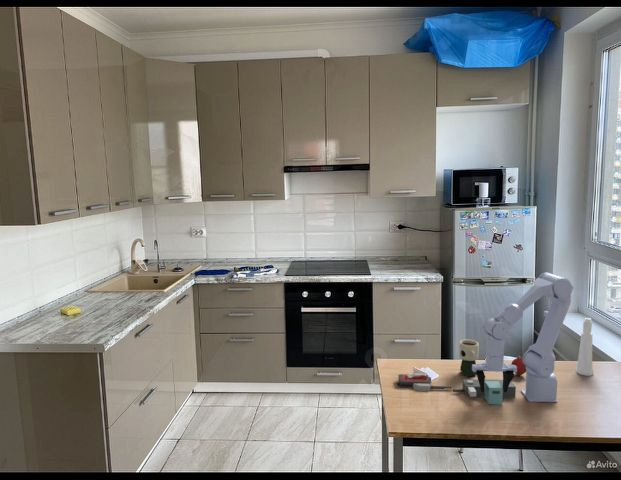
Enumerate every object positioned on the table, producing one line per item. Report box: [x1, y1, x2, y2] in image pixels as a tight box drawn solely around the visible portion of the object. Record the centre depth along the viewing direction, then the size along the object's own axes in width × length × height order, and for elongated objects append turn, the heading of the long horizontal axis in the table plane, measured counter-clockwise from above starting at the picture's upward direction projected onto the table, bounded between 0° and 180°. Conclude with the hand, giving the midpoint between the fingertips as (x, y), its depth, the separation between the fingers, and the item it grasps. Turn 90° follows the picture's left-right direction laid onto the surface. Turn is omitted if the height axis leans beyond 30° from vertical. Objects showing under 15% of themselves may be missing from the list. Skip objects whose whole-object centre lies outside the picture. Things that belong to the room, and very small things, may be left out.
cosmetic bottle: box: [575, 317, 594, 377], centre depth 180 cm, size 6×6×22 cm
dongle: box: [468, 387, 477, 398], centre depth 163 cm, size 2×4×2 cm, turn 176°
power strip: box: [452, 378, 517, 398], centre depth 167 cm, size 21×6×5 cm, turn 86°
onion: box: [510, 355, 526, 377], centre depth 180 cm, size 6×6×8 cm
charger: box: [484, 381, 504, 405], centre depth 162 cm, size 4×7×6 cm, turn 176°
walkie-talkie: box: [396, 372, 453, 392], centre depth 174 cm, size 9×4×20 cm
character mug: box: [458, 339, 480, 377], centre depth 182 cm, size 11×7×13 cm, turn 0°
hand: (493, 390), depth 161 cm, fingers open, 7 cm apart
